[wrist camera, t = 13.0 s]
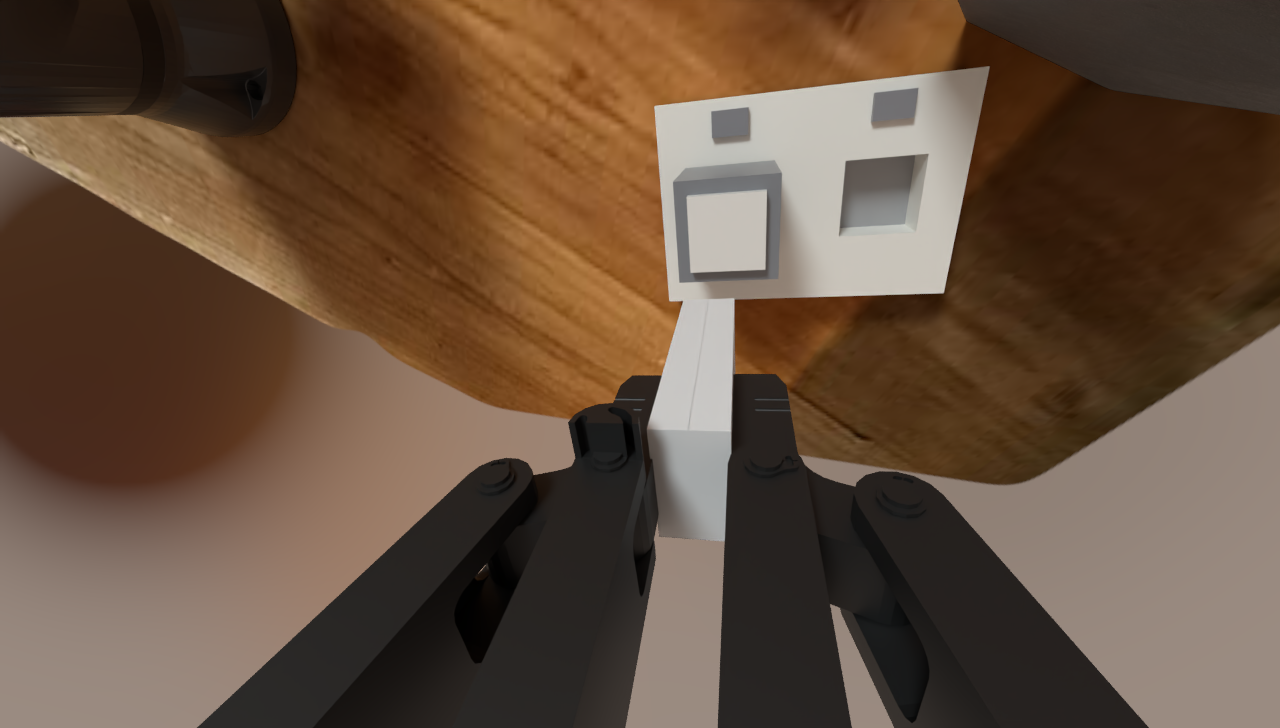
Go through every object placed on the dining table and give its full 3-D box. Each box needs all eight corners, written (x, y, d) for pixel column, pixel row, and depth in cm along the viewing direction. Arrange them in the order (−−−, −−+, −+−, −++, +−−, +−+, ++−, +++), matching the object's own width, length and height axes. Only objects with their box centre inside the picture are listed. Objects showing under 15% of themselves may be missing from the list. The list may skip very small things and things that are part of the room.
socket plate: (674, 289, 41) (668, 303, 38) (661, 106, 35) (653, 106, 32) (929, 280, 37) (945, 295, 34) (968, 69, 30) (992, 65, 27)
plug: (693, 243, 38) (678, 285, 29) (689, 163, 36) (671, 183, 27) (770, 238, 37) (778, 282, 28) (772, 156, 34) (782, 174, 25)
